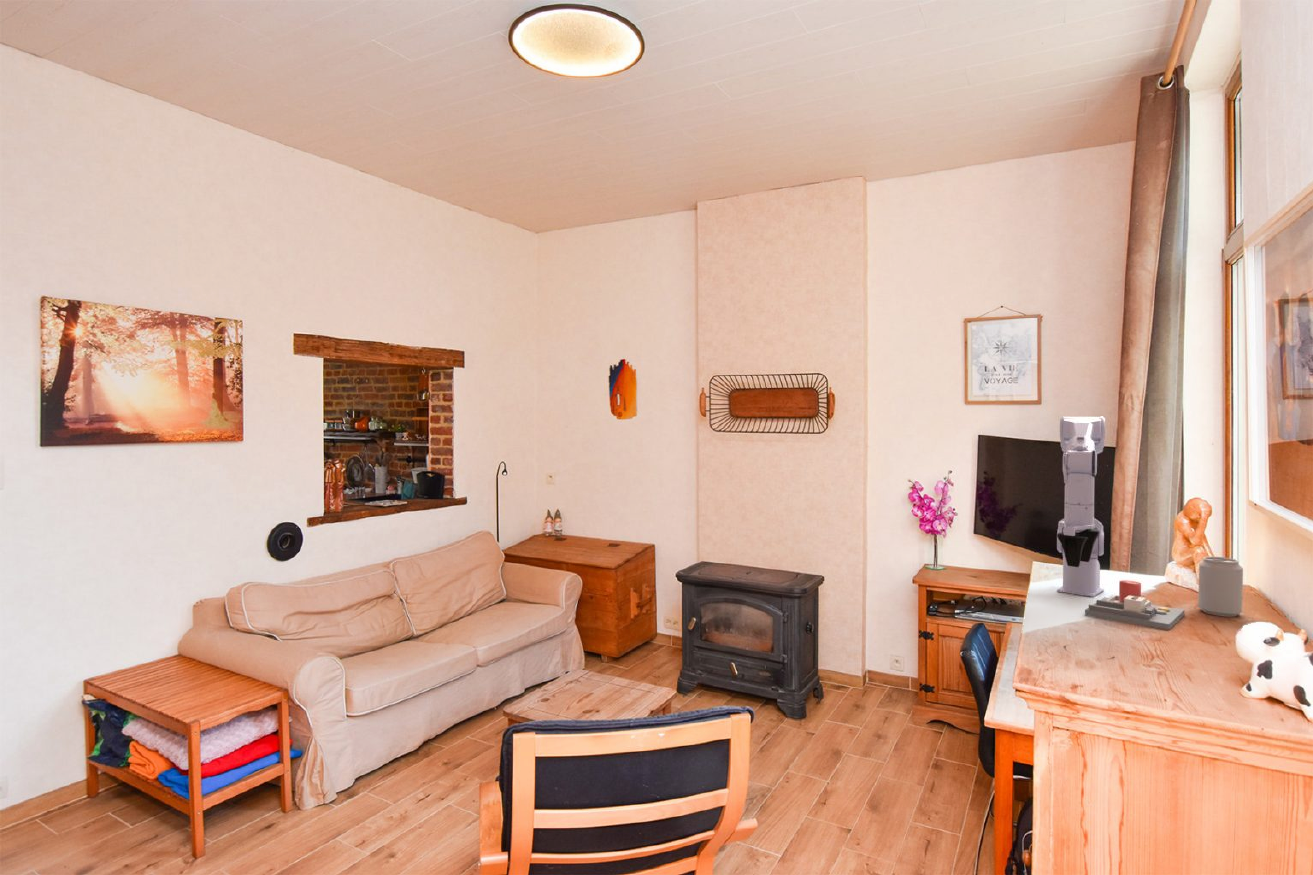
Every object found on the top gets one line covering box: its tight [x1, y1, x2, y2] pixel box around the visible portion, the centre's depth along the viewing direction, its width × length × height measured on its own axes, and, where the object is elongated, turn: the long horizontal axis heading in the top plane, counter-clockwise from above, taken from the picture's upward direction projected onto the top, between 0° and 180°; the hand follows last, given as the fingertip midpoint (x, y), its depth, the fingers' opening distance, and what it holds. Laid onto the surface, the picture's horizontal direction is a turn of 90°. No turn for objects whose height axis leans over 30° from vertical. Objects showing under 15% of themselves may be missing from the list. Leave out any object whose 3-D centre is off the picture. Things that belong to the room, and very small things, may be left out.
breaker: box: [1124, 595, 1147, 613], centre depth 149 cm, size 4×3×3 cm
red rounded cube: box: [1118, 579, 1142, 603], centre depth 156 cm, size 4×4×5 cm
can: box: [1197, 556, 1244, 618], centre depth 154 cm, size 8×8×12 cm
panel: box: [1084, 594, 1185, 631], centre depth 152 cm, size 15×15×3 cm
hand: (1078, 563), depth 159 cm, fingers open, 7 cm apart
